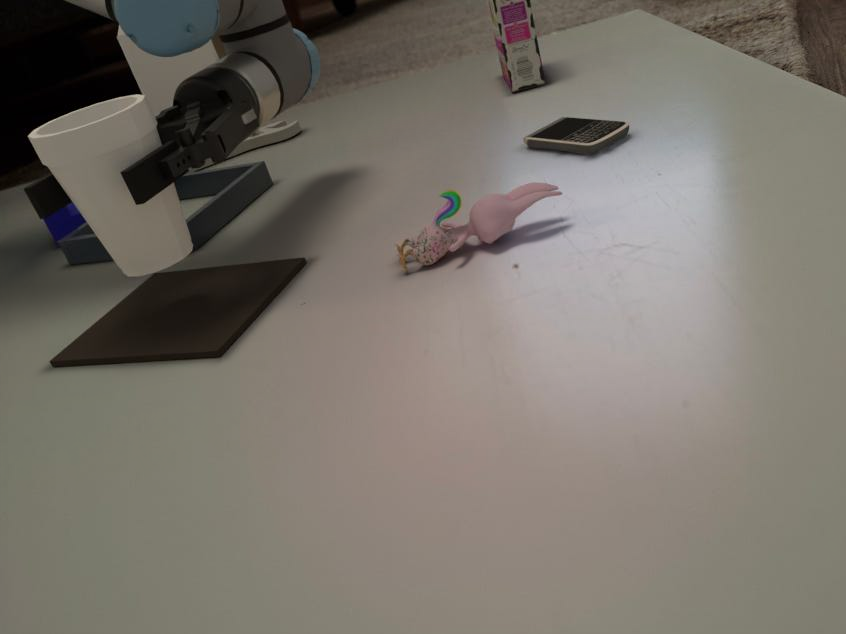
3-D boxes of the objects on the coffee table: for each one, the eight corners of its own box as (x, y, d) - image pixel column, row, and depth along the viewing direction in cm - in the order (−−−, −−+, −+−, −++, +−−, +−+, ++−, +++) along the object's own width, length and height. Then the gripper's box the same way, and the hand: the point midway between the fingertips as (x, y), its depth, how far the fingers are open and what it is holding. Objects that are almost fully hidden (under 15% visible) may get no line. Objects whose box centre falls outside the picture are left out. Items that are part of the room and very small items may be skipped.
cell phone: (595, 158, 85) (593, 144, 84) (521, 149, 93) (518, 136, 92) (635, 134, 87) (633, 121, 87) (560, 128, 95) (557, 115, 95)
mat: (52, 366, 74) (48, 361, 74) (156, 278, 86) (154, 273, 86) (220, 356, 68) (217, 350, 67) (306, 262, 80) (304, 256, 80)
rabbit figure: (413, 295, 71) (575, 219, 70) (382, 235, 68) (550, 155, 67) (408, 266, 77) (558, 195, 76) (378, 209, 74) (534, 135, 73)
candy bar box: (548, 84, 112) (522, -48, 104) (512, 94, 113) (483, -37, 104) (535, 67, 122) (510, -55, 114) (502, 76, 122) (474, -45, 114)
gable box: (239, 121, 140) (168, -61, 126) (163, 143, 140) (82, -36, 126) (250, 92, 159) (189, -69, 145) (183, 111, 159) (115, -47, 145)
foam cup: (143, 242, 79) (75, 107, 73) (227, 228, 77) (165, 86, 70) (84, 291, 72) (3, 146, 65) (176, 278, 69) (100, 125, 62)
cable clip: (94, 234, 105) (71, 189, 102) (58, 247, 104) (33, 202, 101) (94, 209, 115) (73, 168, 112) (61, 221, 114) (39, 179, 111)
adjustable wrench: (134, 196, 117) (128, 184, 116) (132, 185, 122) (126, 174, 121) (303, 134, 122) (298, 122, 121) (294, 126, 127) (289, 115, 127)
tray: (69, 265, 97) (56, 241, 96) (158, 200, 111) (148, 179, 110) (195, 250, 91) (184, 225, 89) (273, 183, 105) (264, 160, 103)
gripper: (334, 123, 82) (215, 224, 65) (155, 154, 90) (6, 251, 73) (307, 45, 78) (173, 129, 61) (123, 85, 86) (-43, 169, 69)
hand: (82, 196), depth 67 cm, fingers closed on foam cup, 9 cm apart
